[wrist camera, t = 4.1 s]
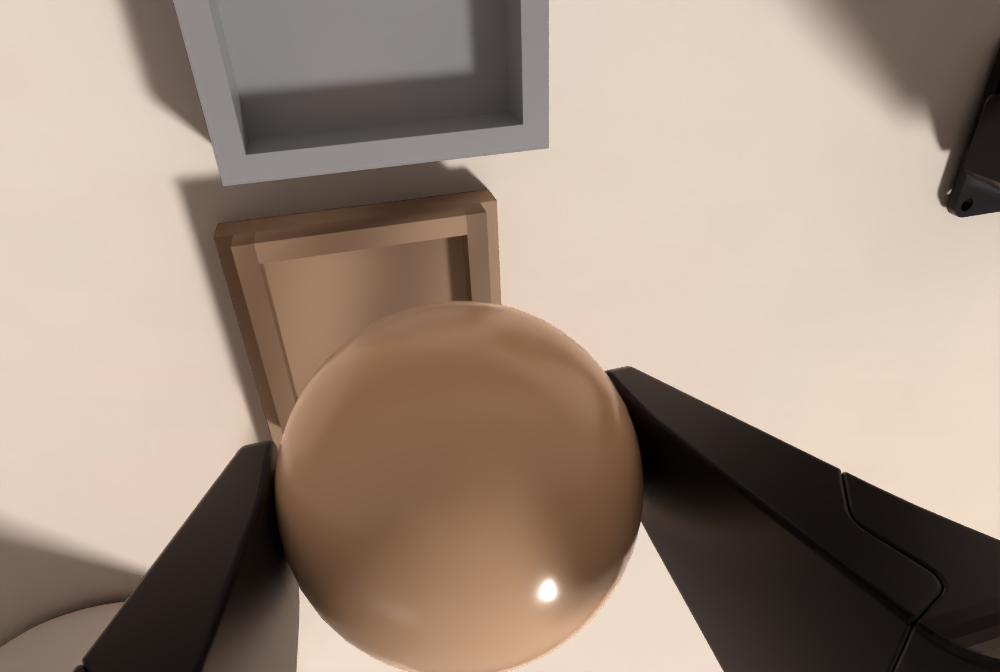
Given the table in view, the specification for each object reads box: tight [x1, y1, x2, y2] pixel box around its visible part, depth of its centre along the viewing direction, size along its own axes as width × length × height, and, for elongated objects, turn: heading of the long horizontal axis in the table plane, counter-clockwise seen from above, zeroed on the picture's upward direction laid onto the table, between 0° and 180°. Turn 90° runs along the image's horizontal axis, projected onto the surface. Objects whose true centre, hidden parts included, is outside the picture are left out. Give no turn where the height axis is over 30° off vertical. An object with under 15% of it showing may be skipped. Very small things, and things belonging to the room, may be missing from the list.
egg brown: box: [274, 301, 644, 672], centre depth 9 cm, size 5×5×5 cm
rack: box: [214, 190, 501, 451], centre depth 23 cm, size 8×16×2 cm, turn 2°
